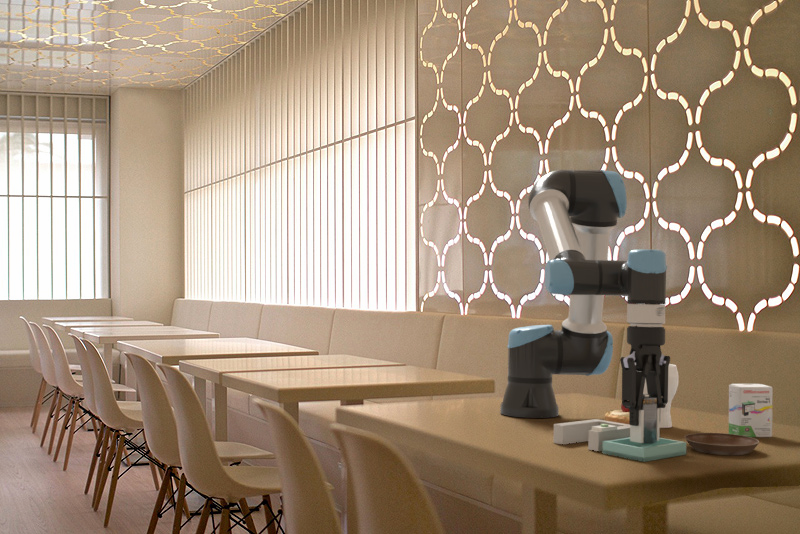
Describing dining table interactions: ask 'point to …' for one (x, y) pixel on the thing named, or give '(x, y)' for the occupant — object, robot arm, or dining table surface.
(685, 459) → the dining table surface
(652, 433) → the cell
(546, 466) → the dining table surface
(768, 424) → the ink box
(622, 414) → the pastry
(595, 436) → the white hook bar
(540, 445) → the dining table surface
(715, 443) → the saucer
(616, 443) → the trough
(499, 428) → the dining table surface
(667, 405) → the cup
